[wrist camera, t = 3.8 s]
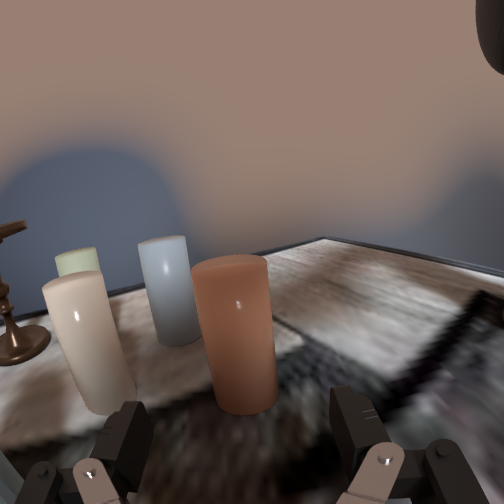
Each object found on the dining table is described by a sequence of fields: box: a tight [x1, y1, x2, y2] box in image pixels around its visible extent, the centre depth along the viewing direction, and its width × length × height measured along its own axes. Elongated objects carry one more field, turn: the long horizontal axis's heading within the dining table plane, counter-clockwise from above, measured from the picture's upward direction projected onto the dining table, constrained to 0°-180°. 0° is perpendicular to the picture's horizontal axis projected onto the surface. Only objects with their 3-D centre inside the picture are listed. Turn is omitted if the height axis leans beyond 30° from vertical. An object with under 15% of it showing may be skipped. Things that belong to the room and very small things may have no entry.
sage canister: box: [55, 247, 101, 277], centre depth 30 cm, size 5×5×10 cm
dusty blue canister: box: [138, 236, 201, 346], centre depth 30 cm, size 5×5×10 cm
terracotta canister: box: [191, 255, 279, 416], centre depth 20 cm, size 5×5×10 cm
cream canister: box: [42, 271, 137, 415], centre depth 20 cm, size 5×5×10 cm
